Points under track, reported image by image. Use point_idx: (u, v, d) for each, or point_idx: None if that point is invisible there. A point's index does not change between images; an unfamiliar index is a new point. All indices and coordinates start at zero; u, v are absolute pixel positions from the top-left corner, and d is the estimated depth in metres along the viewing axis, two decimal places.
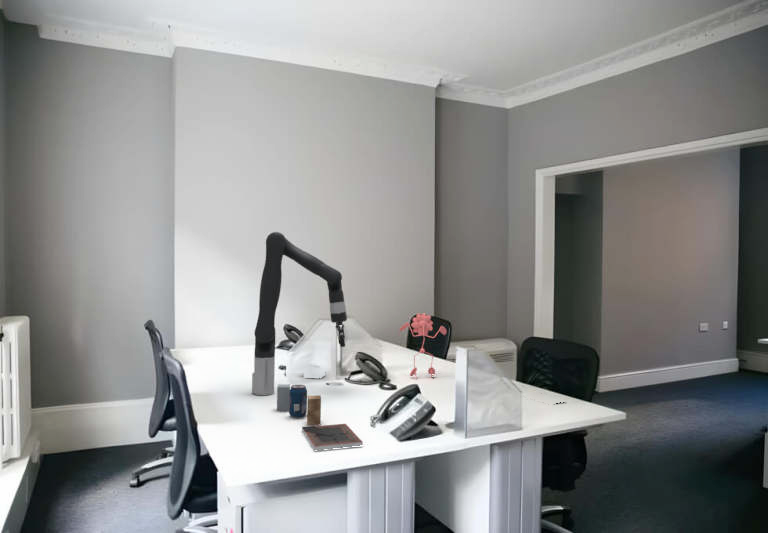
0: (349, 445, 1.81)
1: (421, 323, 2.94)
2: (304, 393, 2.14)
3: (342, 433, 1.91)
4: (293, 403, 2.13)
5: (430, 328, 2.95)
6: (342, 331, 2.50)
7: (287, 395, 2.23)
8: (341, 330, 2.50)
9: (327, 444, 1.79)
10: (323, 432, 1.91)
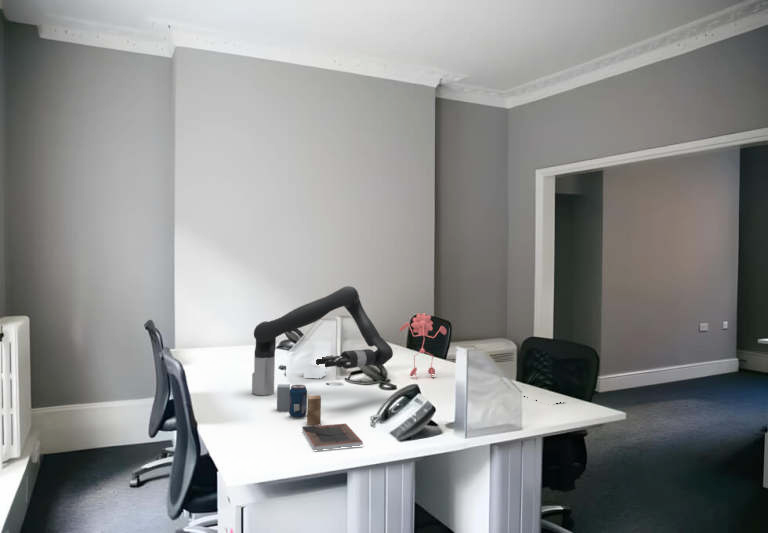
0: (349, 445, 1.81)
1: (421, 323, 2.94)
2: (304, 393, 2.14)
3: (342, 433, 1.91)
4: (293, 403, 2.13)
5: (430, 328, 2.95)
6: (344, 364, 2.23)
7: (287, 395, 2.23)
8: (345, 363, 2.23)
9: (327, 444, 1.79)
10: (323, 432, 1.91)
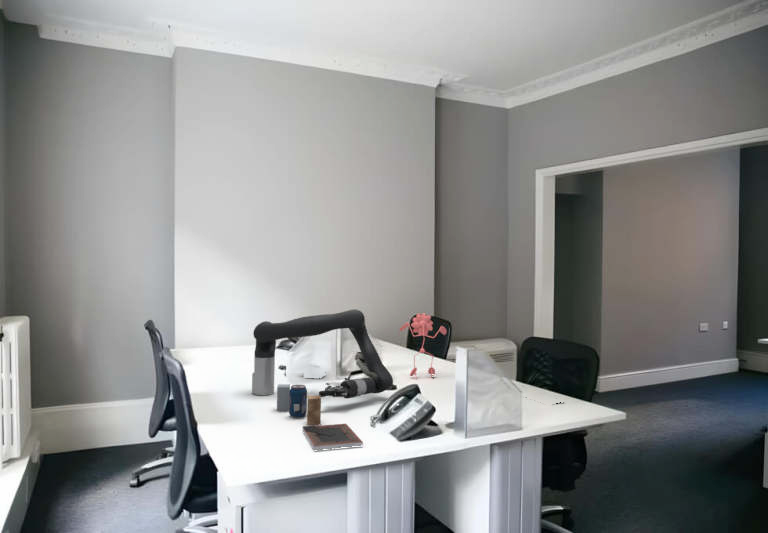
0: (349, 445, 1.81)
1: (421, 323, 2.94)
2: (304, 393, 2.14)
3: (342, 433, 1.91)
4: (293, 403, 2.13)
5: (430, 328, 2.95)
6: (339, 395, 2.24)
7: (287, 395, 2.23)
8: (340, 394, 2.24)
9: (327, 444, 1.79)
10: (323, 432, 1.92)
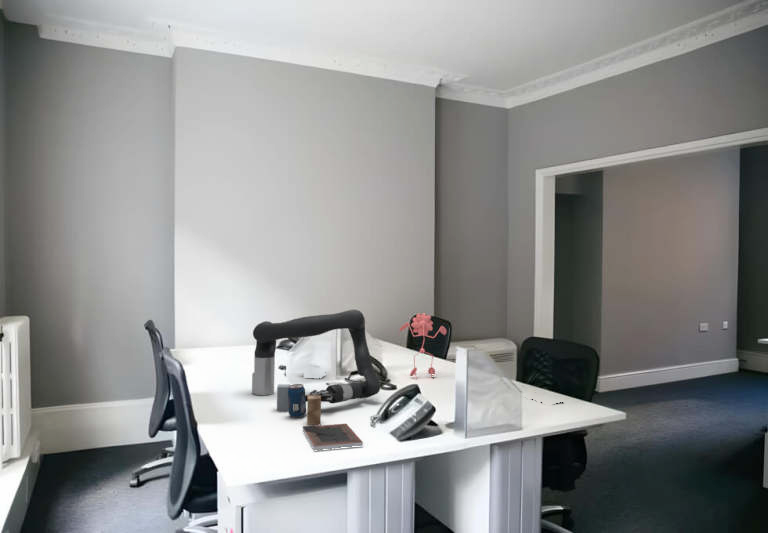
0: (349, 445, 1.81)
1: (421, 323, 2.94)
2: (302, 392, 2.14)
3: (342, 433, 1.91)
4: (292, 403, 2.13)
5: (430, 328, 2.95)
6: (324, 399, 2.19)
7: (287, 395, 2.23)
8: (325, 399, 2.19)
9: (327, 444, 1.79)
10: (324, 432, 1.92)
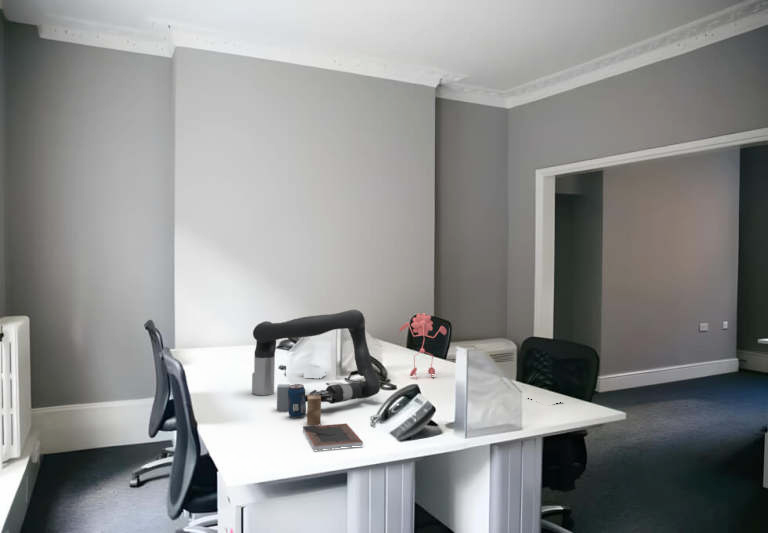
0: (349, 445, 1.81)
1: (421, 323, 2.94)
2: (302, 393, 2.14)
3: (342, 433, 1.91)
4: (292, 403, 2.13)
5: (430, 328, 2.95)
6: (324, 400, 2.19)
7: (287, 395, 2.23)
8: (325, 399, 2.19)
9: (327, 444, 1.79)
10: (324, 432, 1.92)
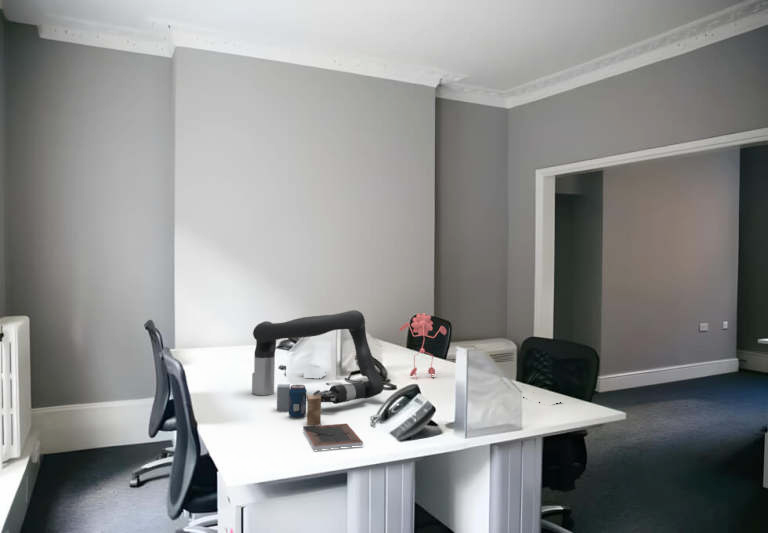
0: (349, 445, 1.81)
1: (421, 323, 2.94)
2: (303, 393, 2.14)
3: (342, 433, 1.91)
4: (292, 403, 2.13)
5: (430, 328, 2.95)
6: (327, 400, 2.20)
7: (287, 395, 2.23)
8: (329, 399, 2.20)
9: (327, 444, 1.80)
10: (324, 432, 1.92)
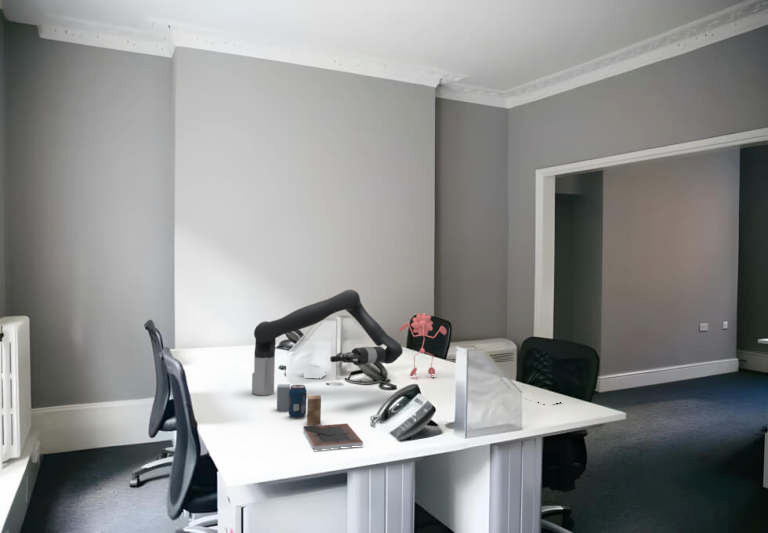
0: (349, 445, 1.81)
1: (421, 323, 2.94)
2: (304, 393, 2.14)
3: (342, 433, 1.91)
4: (292, 403, 2.13)
5: (430, 328, 2.95)
6: (350, 360, 2.27)
7: (287, 395, 2.23)
8: (351, 360, 2.27)
9: (327, 443, 1.80)
10: (324, 432, 1.92)
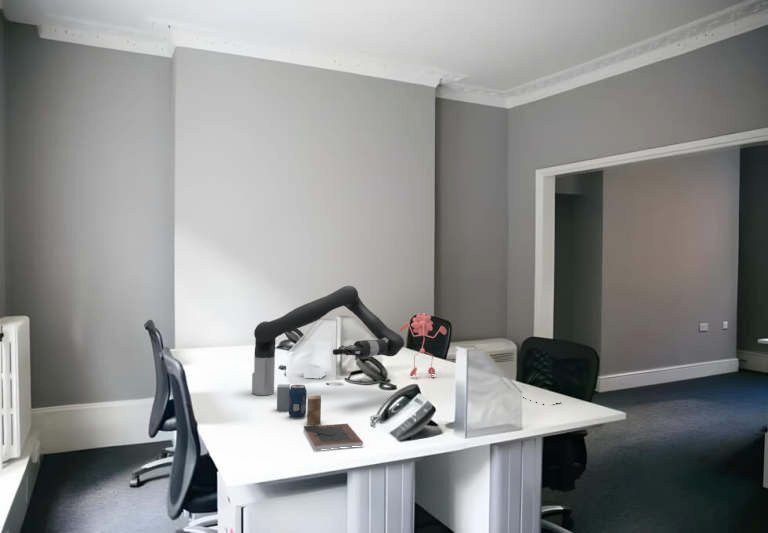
0: (349, 445, 1.81)
1: (421, 323, 2.94)
2: (304, 393, 2.14)
3: (343, 433, 1.91)
4: (292, 403, 2.13)
5: (430, 328, 2.95)
6: (352, 353, 2.28)
7: (287, 395, 2.23)
8: (354, 352, 2.28)
9: (327, 443, 1.80)
10: (324, 432, 1.92)
